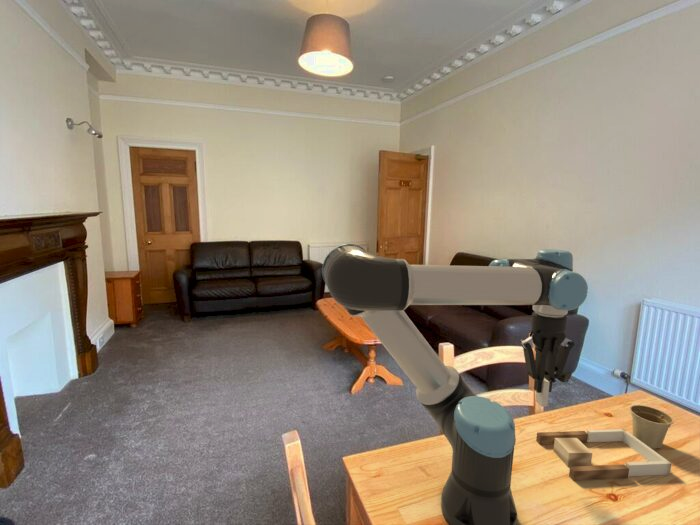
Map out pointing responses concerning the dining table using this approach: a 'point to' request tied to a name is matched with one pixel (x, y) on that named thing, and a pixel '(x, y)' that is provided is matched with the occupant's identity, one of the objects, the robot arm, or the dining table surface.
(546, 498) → the dining table surface
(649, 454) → the corral
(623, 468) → the slot rails
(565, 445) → the beige square block
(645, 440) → the flower pot
